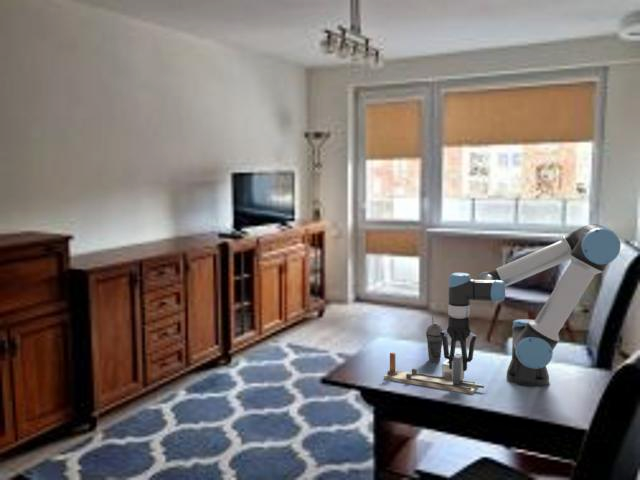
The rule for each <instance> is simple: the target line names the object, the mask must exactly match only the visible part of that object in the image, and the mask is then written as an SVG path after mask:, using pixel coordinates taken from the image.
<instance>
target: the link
mask: <svg viewBox="0 0 640 480" xmlns="http://www.w3.org/2000/svg"><path fill="white" fill-rule="evenodd" d="M441 377H446V378H452V369H450V368H449V360H448V359H447V358H445V360H444V361H443V362H442V363H441Z"/></svg>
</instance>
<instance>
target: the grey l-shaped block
mask: <svg viewBox="0 0 640 480" xmlns="http://www.w3.org/2000/svg"><path fill="white" fill-rule="evenodd" d="M462 361H463V360H462V353H456V354H454V357H453V385H458V386H460V385H467V386H473V387H478V388H481V389H484V388H485V385H484V384H479V383H478V384H474V383H468V382H463V380H464V379H463V380H460V367H461V362H462Z"/></svg>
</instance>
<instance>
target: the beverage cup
mask: <svg viewBox="0 0 640 480" xmlns="http://www.w3.org/2000/svg"><path fill="white" fill-rule="evenodd" d="M430 316H431V323H432V324H430V325H429V326H428V327H427V328H426V332H425V334H426V342H427V353H428V361H429V362H430V363H434V364H435V363H439V362H441V357H442V348H443V341H442V337H441V335H440V333H441V332H442V331H444V330H443V327H442V326H441V325H439V324H436V323H434V314H433V313H431V315H430Z"/></svg>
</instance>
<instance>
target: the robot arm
mask: <svg viewBox="0 0 640 480" xmlns="http://www.w3.org/2000/svg"><path fill="white" fill-rule="evenodd" d="M620 241H621V240H620V239H619V237H618V235H617V233H615V232H614V231H613V230H611V229H610V228H608V227H606V226H604V225H600V224H595V223H592V224H587V225H583V226H581V227H580V228H578V229H576V230H574V231H572V232H569V233H568V234H565V235H562V236H561V239H560V240H558V241H556V242H554V243H552V244H549V245H547V246H545V247H543V248H540V249H538V250H536V251H533V252H531V253H529V254H526V255H524V256H522V257H520V258H517V259H515V260H513V261H511V262H508V263H506V264H504V265H502V266H499V267H497V268H494V269H493V270H490V271H484V272H481V273H480V274H479V275H478V276H477V279H473V278H471V274H469V273H467V272H453V273H451V274H449V277H448V309H447V311H448V318H447V319H448V322H447V325H448V326H447V328H446V330H443V331H442V332H441V333H440V335H441V337H442V348H443V349H442V350H443V358H444V359H448V360H449V368H450V369H452V379H453V357H454V356H455V355H456V354H455V353H456V347H457V342H459V343H460V349H461V354H462V360H463V361H462V362H461V367H460V380H465V372H467V370H468V363H471V361H473V358H474V352H475V344H476V340H477V339H478V335H477V334H474V333H473V332H471V331H472V330H471V329H470V324H471V322H470V321H471V319H470V314H471V311H470V310H471V301H477V302H478V301H480V302H482V301H483V302H494V303H496V302H504V301H505V298H506V287H508V286H510V285H513V284H515V283H518V282H520V281H523V280H524V279H527V278H530V277H532V276H534V275H536V274H537V275H538V274H539V273H541V272H544V271H546V270H549V269H550V268H553V267H555V266H558V265H560V264H562V263H563V264H564V263H565V262H567V261H569V260H570V263H569V265H568V266H567V267H566V269H565V271H564V273H563V274H562V276H561V277H560V279H559V281H558V283H557V284H556V286H554V289H553V290H552V292H551V294H550V296H549V297H548V299H547V300H546V302H545V304H544V305H543V306H542V308H541V309H540V311H539V313H538V315H537V316H536V318H535V319H528V318H527V319H515V320H513V322H512V327H511V329H512V339H511V340H512V341H511V345H512V346H511V360H510V362H509V365H508V368H507V369H506V380H507V381H508V382H510V383H511V384H515V385H517V386H521V387H531V388H534V387H535V388H539V387H543V386H547V385H548V384H549V383H550V375H549V372H548V371H549V370H548V369H547V366H548V365H549V364H550V363H551V361H552V360H553V359H552V358H553V355H554V354H553V353H554V349H555V348H556V347H557V345H558V344H559V342H560V336H559V332H560V330H561V329H562V328H563V326H564V325H565V323H566V322H567V320H568V319H569V317H570V315H571V314H572V313H573V310H574V309H575V307H576V306H577V304H578V302H579V301H580V299H581V298H582V296H583V295H584V293H585V291H586V290H587V288H588V286H589V285H590V284H591V283H592V280H593V278H595V275H597V274H602V273H604V271H605V269H606V268H607V266H608V264H610V263H611V262H613V261H615V259H617V257H618V256H619V254H620V252H621V242H620ZM448 336H449V337H450V339H451V341H450V348H449V341H448V340H449V339H448ZM468 337H469V340H470V342H469V347H468V350H467V338H468ZM467 351H468V352H467Z"/></svg>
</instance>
